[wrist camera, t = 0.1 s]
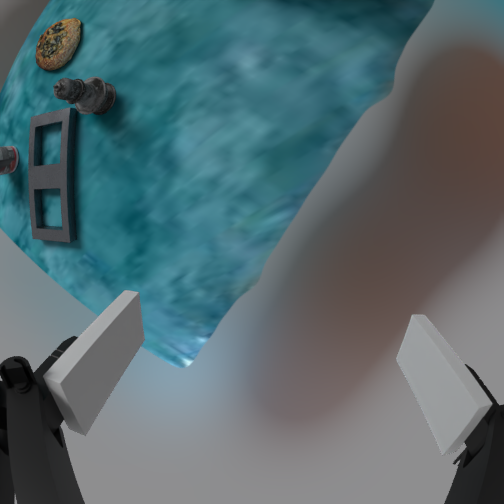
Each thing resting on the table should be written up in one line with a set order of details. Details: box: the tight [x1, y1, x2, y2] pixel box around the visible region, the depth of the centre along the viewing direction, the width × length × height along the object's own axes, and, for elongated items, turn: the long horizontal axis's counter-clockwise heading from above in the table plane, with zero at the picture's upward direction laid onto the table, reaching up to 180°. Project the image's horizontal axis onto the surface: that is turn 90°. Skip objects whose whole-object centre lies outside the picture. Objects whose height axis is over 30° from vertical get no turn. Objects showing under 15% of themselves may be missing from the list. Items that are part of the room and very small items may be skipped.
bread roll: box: [36, 18, 81, 70], centre depth 30 cm, size 11×11×5 cm
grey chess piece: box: [53, 77, 116, 115], centre depth 29 cm, size 6×6×12 cm
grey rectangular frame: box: [29, 108, 77, 243], centre depth 38 cm, size 22×10×2 cm, turn 176°
